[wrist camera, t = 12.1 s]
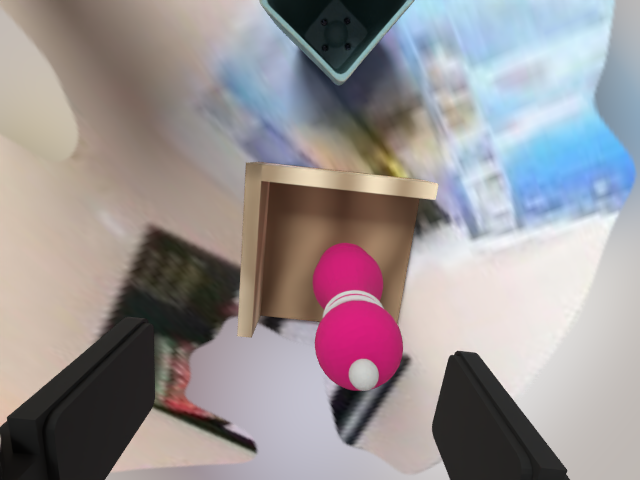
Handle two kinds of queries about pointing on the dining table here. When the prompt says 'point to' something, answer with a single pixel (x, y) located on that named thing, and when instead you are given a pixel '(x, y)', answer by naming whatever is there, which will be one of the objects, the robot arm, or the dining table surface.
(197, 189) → the dining table surface
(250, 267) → the corner fence
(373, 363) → the pepper mill
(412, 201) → the board
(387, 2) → the flower pot
